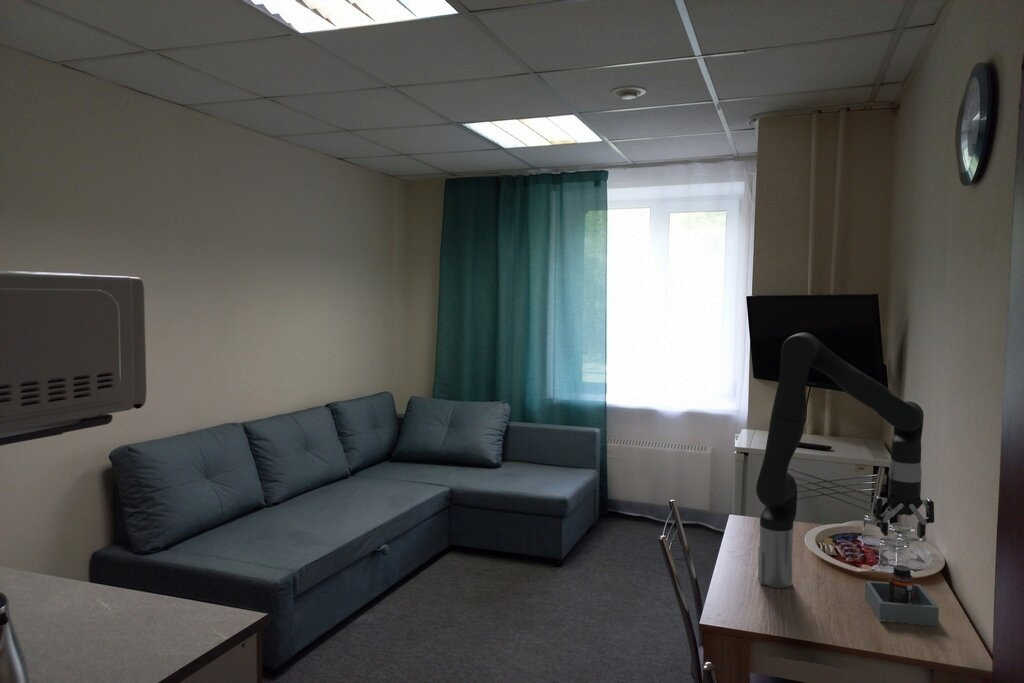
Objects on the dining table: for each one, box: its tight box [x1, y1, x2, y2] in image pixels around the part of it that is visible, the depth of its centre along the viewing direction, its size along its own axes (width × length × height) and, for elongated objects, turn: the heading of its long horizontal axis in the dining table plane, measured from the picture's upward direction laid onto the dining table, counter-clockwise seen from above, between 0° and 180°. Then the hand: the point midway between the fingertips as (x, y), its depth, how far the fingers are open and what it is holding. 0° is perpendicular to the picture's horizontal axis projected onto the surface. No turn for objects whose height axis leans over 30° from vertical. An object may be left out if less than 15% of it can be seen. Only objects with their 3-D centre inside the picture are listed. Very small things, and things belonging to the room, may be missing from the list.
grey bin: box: [864, 580, 940, 627], centre depth 191 cm, size 14×14×5 cm
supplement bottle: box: [888, 564, 915, 604], centre depth 190 cm, size 6×6×11 cm
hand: (902, 536), depth 189 cm, fingers open, 8 cm apart
